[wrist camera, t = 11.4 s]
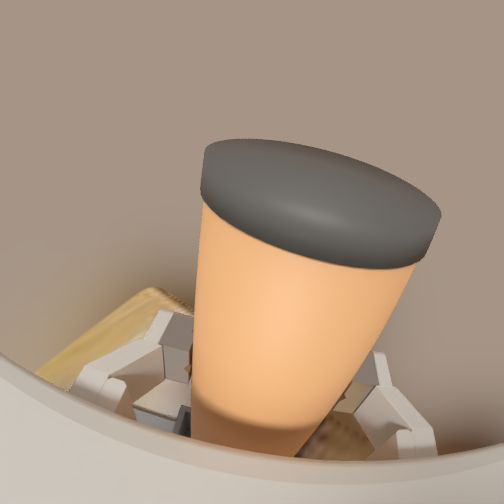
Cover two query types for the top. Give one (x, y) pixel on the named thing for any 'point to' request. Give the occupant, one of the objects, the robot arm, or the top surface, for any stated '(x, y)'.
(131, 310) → the top surface
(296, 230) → the lidded coffee cup
